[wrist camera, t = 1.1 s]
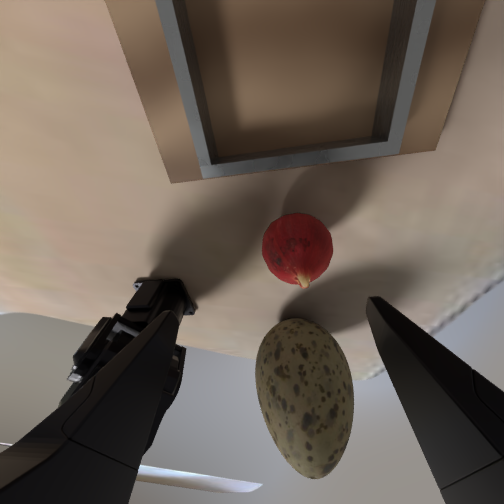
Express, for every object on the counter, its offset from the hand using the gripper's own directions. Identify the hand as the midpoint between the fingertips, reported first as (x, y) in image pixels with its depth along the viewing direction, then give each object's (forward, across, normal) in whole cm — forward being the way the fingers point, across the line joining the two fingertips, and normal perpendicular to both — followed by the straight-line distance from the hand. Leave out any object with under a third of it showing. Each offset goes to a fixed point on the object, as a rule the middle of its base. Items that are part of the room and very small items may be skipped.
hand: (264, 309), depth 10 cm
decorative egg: (+12, -2, +19) cm, 23 cm away
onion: (+12, -2, +3) cm, 13 cm away
